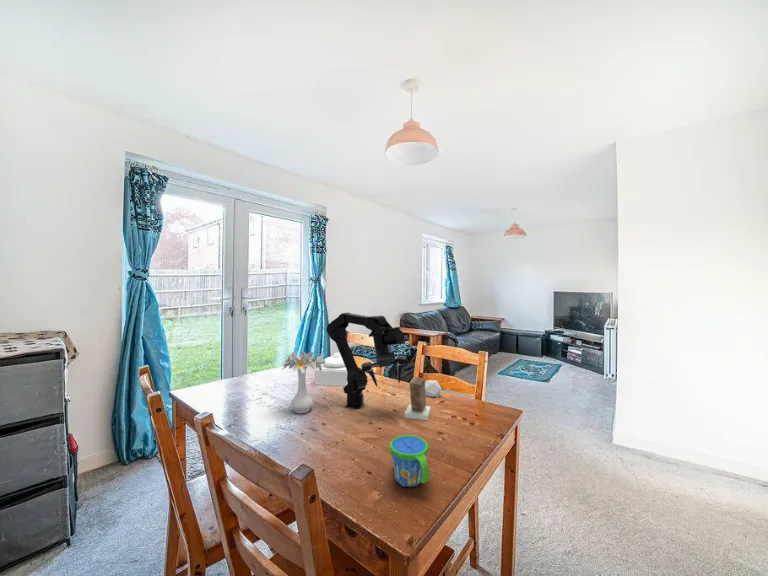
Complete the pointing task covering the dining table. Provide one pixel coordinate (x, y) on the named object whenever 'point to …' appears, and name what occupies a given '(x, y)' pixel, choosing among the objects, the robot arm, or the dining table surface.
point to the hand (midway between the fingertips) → (388, 384)
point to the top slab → (417, 413)
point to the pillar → (418, 394)
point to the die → (432, 388)
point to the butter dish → (332, 372)
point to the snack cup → (409, 460)
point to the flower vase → (302, 379)
